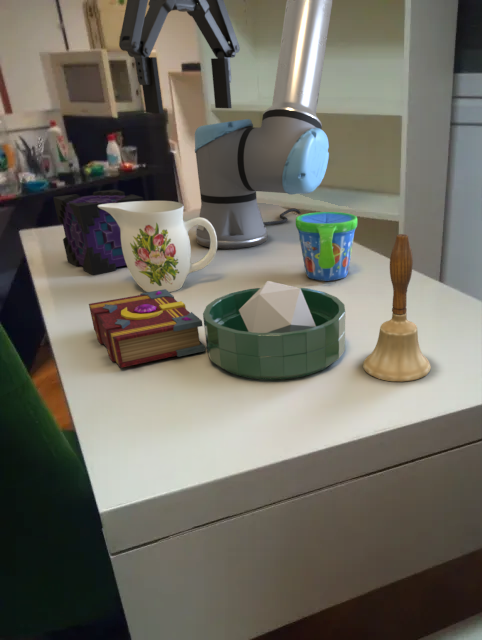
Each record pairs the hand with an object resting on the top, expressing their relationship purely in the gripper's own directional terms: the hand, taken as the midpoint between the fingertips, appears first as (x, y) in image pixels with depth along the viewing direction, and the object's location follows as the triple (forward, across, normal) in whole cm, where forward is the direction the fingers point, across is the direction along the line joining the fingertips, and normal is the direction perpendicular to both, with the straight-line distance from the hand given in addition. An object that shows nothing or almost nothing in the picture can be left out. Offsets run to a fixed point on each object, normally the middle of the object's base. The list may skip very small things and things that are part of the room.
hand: (191, 110), depth 86 cm
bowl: (+27, -14, -26) cm, 40 cm away
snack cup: (+27, +17, -12) cm, 34 cm away
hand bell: (+27, -9, -41) cm, 50 cm away
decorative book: (+27, -21, -9) cm, 35 cm away
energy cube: (+27, +1, +28) cm, 39 cm away
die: (+26, -14, -26) cm, 40 cm away
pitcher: (+27, -3, +7) cm, 28 cm away
